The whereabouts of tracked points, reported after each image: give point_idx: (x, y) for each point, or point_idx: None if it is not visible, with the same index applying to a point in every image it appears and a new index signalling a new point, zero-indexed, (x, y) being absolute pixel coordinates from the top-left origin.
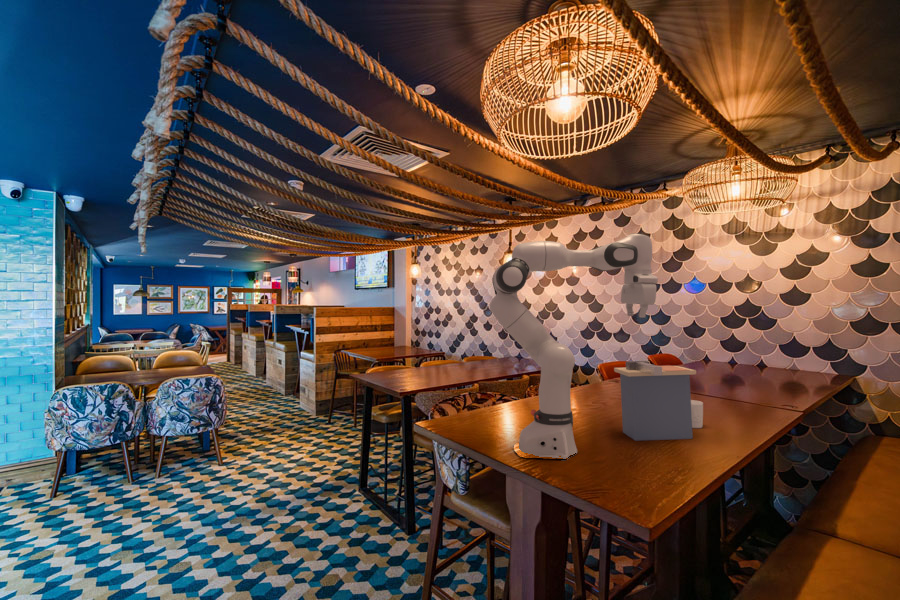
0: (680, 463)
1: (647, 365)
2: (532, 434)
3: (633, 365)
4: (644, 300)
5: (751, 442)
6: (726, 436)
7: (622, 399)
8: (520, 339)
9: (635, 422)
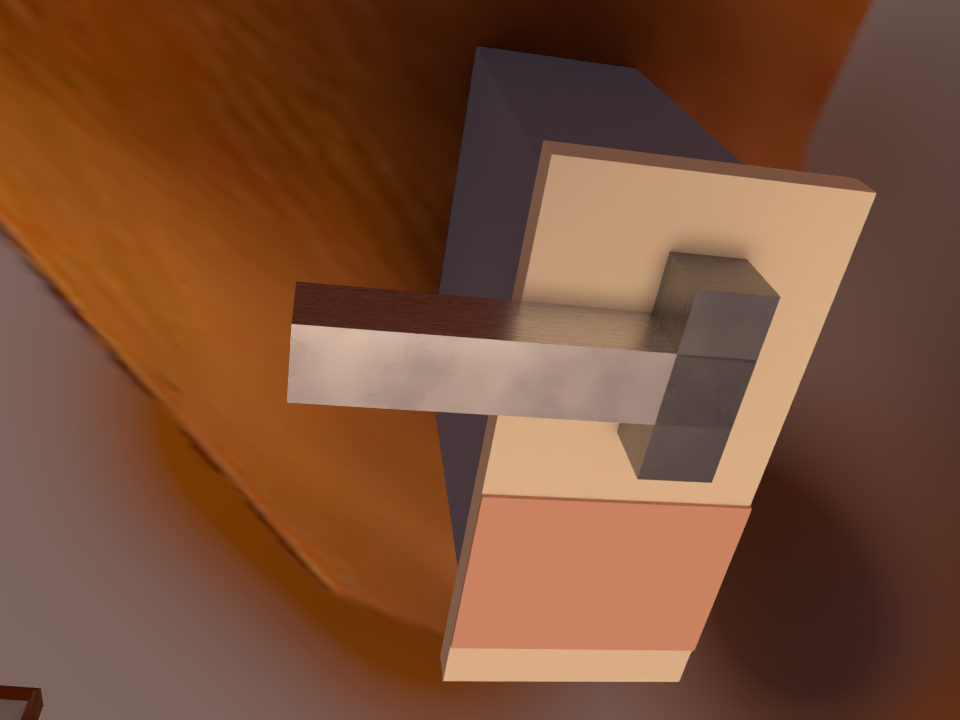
0: (92, 62)
1: (427, 337)
2: None
3: (673, 315)
4: None
5: (329, 545)
6: (421, 511)
7: (692, 133)
8: None
9: (490, 83)
